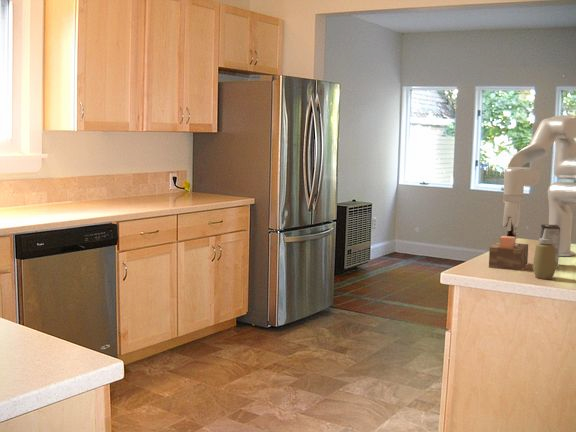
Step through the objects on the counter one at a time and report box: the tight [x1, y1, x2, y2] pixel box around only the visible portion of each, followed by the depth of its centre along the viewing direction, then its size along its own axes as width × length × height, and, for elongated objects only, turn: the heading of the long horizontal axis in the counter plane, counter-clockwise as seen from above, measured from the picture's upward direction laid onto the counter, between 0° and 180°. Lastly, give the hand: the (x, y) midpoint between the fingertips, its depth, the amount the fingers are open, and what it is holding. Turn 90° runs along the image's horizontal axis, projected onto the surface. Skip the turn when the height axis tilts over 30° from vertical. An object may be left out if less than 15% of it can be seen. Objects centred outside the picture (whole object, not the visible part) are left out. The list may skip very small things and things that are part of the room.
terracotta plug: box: [499, 235, 517, 249], centre depth 282 cm, size 5×5×6 cm
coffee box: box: [539, 223, 560, 269], centre depth 287 cm, size 9×6×16 cm
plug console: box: [488, 241, 529, 271], centre depth 286 cm, size 16×12×8 cm
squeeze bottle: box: [532, 229, 557, 280], centre depth 262 cm, size 8×8×18 cm
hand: (510, 244), depth 289 cm, fingers closed
